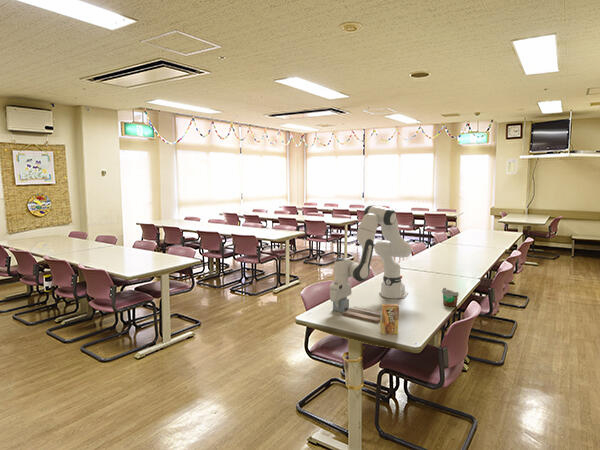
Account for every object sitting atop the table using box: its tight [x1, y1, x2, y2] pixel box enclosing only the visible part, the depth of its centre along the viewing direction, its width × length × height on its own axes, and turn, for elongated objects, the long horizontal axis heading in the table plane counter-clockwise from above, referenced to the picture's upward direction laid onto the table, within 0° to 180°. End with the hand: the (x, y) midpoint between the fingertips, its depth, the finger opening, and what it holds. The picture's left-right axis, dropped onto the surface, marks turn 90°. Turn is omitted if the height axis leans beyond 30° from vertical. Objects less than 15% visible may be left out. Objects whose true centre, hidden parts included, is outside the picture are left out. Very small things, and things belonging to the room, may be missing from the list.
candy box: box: [379, 303, 400, 335], centre depth 207 cm, size 9×4×15 cm, turn 93°
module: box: [332, 298, 350, 313], centre depth 244 cm, size 6×8×7 cm
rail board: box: [342, 306, 381, 324], centre depth 234 cm, size 14×23×3 cm, turn 52°
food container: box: [441, 287, 460, 308], centre depth 253 cm, size 12×6×10 cm, turn 21°
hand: (340, 305), depth 244 cm, fingers closed on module, 6 cm apart
